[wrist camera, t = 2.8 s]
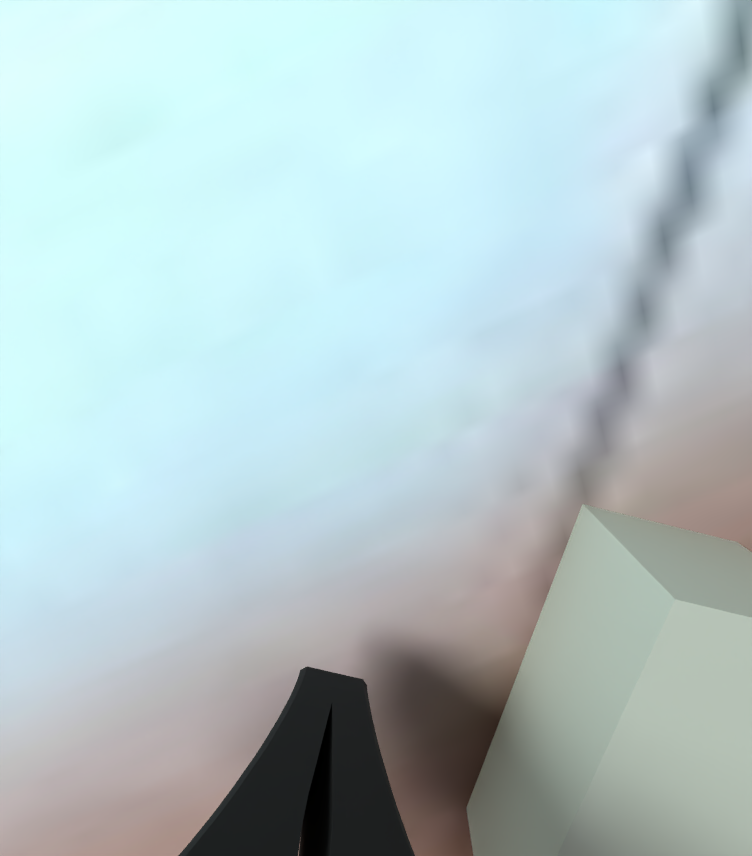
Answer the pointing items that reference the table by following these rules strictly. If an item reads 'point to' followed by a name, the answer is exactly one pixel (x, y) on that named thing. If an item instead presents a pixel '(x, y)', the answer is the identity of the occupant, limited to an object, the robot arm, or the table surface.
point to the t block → (628, 703)
